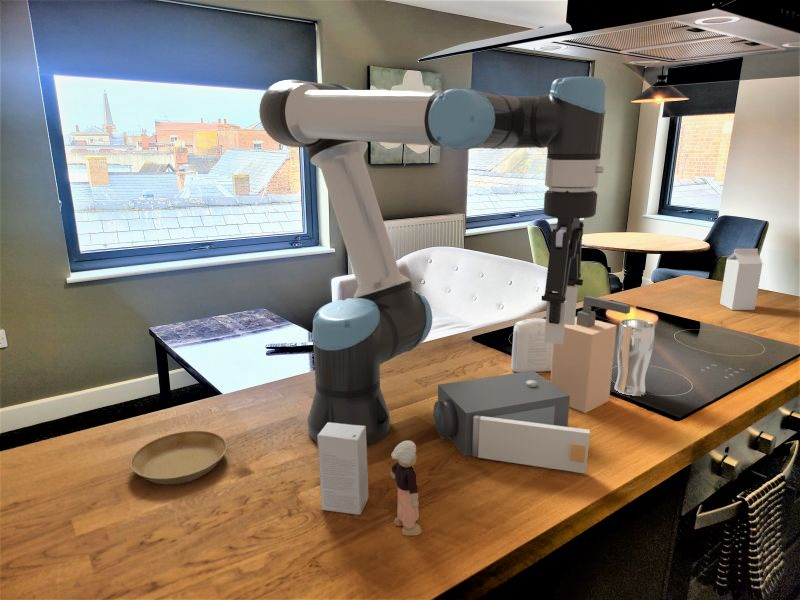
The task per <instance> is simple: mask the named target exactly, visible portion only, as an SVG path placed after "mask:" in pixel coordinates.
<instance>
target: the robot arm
mask: <svg viewBox="0 0 800 600" xmlns="http://www.w3.org/2000/svg"><path fill="white" fill-rule="evenodd" d="M550 87H551V88H550V90H549V93H546V94H541V95H525V96H524V95H523V96H522V95H521V96H519V95H518V96H516V95H515V96H514V95H506V94H499V93H492V92H490V93H489V92H485V91H479V90H476V89H474V88H464V87H461V88H460V87H458V88H451V89H450V88H449V89H447V90H437V89H436V90H431V89H428V90H427V89H426V90H423V89H422V90H420V89H419V90H416V89H414V90H413V89H410V90H409V89H408V90H406V89H405V90H403V89H401V90H397V89H395V90H394V89H393V90H391V89H390V90H389V89H388V90H387V89H385V90H384V89H379V90H378V89H374V90H373V89H365V90H364V89H353V88H351V87H348V86H344V85H341V84H338V83H321V82H312V81H305V80H299V79H286V80H285V79H284V80H281V81H278V82H275V83H274V84H272V85H271V86H269V87H268V89H267V90H266V91H265V92H264V94H263V96H262V97H261V99H260V100H261V101H260V103H259V110H258V112H259V119H260V123H261V126H262V127H263V129H264V131H265V132H266V134H267V135H268V137H270V138H271V139H272V140H273V141H275V142H277V143H278V144H280V145H283V146H285V147H291V148H305V149H306V152H307V155H308V157H309V162H310V163H311V165H313V166H315V167H317V168H319V169H320V170H321V173H322V176H323V180H324V182H325V186H326V189H327V192H328V195H329V197H330V201H331V205H332V207H333V210H334V211H333V212H334V214H335V217H336V220H337V224H338V227H339V230H340V233H341V236H342V239H343V243H344V245H345V249H346V252H347V255H348V259H349V260H350V265H351V268H352V271H353V275H354V278H355V281H356V284H357V289H356V291H355V292H354V294H353V298H352V297H351V298H346V299H344V300H343V299H338V300H334V301H332V302H329V303H327V304H324V305H323V306H321V307H320V308H319V309H318V310H317V311H316V313H315V314H314V316H313V319H312V333H311V340H312V348H313V361H314V364H313V365H314V377H315V378H314V381H315V392H314V397H313V398H312V399H313V400H312V403H311V407H310V409H309V414H308V416H307V432H308V436H309V437H310V438H311V439H312V440H313V441H314V442H316V443H318V440H317V435H318V434H319V433H320V432H321V430H322V429H323V428H324V427H325V425H326V424H327V423H328V422H329V423H339V424H349V425H360V426H366V445H367V446H369V445H372V444H374V443H377V442H379V441H380V440H382V439H383V438H385V437H386V436H387V434H388V433H389V432H390V429H391V416H390V415H391V414H390V412H389V409H388V407H387V406H388V405H387V403H386V401H385V397H384V395H383V393H382V389H381V380H380V379H381V374H380V373H381V372H380V371H381V367H380V366H381V365H382V364H384V363H387V362H388V361H390V360H392V359H394V358H395V357H397V356H399V355H401V354H404V353H407V352H411V351H412V350H414V349H415V348H416V347H418V346H419V345H420V344H422V343H423V342H424V341H425V340H426V339H427V337H428V335H429V334H430V332H431V329H432V325H433V312H432V308H431V305H430V302H429V301H428V299H427V298H426V297H425V296H424V295H423V294H421V292H419V291H418V290H416V289H414V288H413V286H412V282H411V279H410V278H409V277H407V276H406V275H404V274H403V273H401V272H400V269H399V267H398V262H397V260H396V256H395V253H394V251H393V247H392V245H391V241H390V238H389V235H388V231H387V228H386V224H385V221H384V219H383V214H382V212H381V209H380V205H379V202H378V199H377V195H376V193H375V189H374V187H373V183H372V181H371V177H370V174H369V170H368V167H367V163H366V161H365V157H364V155H365V153H366V151H367V149H368V147H369V145H368V142H371V143H372V142H373V143H385V144H386V143H387V144H400V145H401V144H402V145H403V144H405V145H417V146H419V145H420V146H434V147H441V148H444V147H445V148H449V149H453V150H465V151H466V150H471V149H493V150H496V149H498V150H502V149H527V148H530V149H531V148H538V149H544V148H546V149H547V150H546V151H547V154H546V165H545V177H544V179H545V180H544V185H545V186H546V187H547V188H548V190H545V192H544V198H543V214H544V215H545V216H547V217H551V218H556V219H557V222H556V228H552V231H551V232H550V235H549V237H550V242H549V243H550V245H549V254H548V255H549V256H548V263H547V264H548V265H547V272H546V280H545V287H544V289H545V290H544V294H543V295H541V301H543V302H546V309H545V310H546V312H545V319H546V324H545V338H544V342H549V343H556V344H563V342H564V329H565V324H566V325H575V317H576V316H577V315H576V311H577V301H578V300H577V299H578V289H579V288H578V287H579V286H583V285H584V279H581V277H582V273H581V272H582V271H581V267H582V244H583V235H584V221H580V219H588V218H592V217H594V216H595V215H596V214H597V213H596V212H597V203H598V202H597V201H598V193H597V191H596V190H594V189H595V188H597V187H598V185H599V174H603V173H604V171H605V169H604V166H601V165H600V163H601V162H600V161H601V160H600V159H601V150H602V143H603V142H602V141H603V133H604V124H605V115H606V114H607V113H606V112H607V111H606V110H607V109H606V88H607V87H606V83H605V81H604V79H602V78H600V77H596V76H568V77H567V76H566V77H560V78H557V79H554V80H553V81H552V83H551V86H550ZM599 165H600V166H599Z"/></svg>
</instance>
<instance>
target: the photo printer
mask: <svg viewBox="0 0 800 600" xmlns="http://www.w3.org/2000/svg"><path fill="white" fill-rule="evenodd" d="M545 324H546V318H539V317H537V318H535V317H534V318H527V319H523V320H519V321H517V322H515V323H514V326H513V332H512V334H513V336H512V346H511V348H512V349H511V362H510V363H511V364H510V365H511V366H510V368H511V371H512V372H513V373H514V372H515V373H519V372H526V371H535V372H536V373H538V372H539V373H540V372H551V368H552V355H553V343H549V342H544V338H545Z"/></svg>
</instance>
